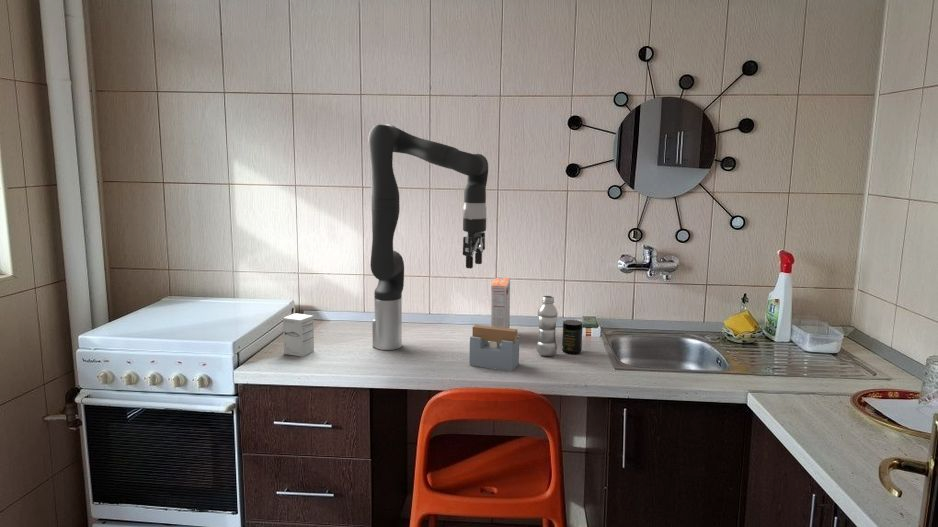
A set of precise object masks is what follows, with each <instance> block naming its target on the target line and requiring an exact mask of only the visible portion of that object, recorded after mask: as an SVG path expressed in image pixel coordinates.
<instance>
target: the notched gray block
mask: <svg viewBox="0 0 938 527" xmlns="http://www.w3.org/2000/svg"><path fill="white" fill-rule="evenodd" d="M468 358H469V366H470V365H472V366H471V367H478V366H480V367H479V368H485V367H487V368H488V369H493V368H496V369H495V370H500V369H501V371H509V372H513V370H514V369H515V368H516V367H517V366H518V365H519V364H520V335H517V342H516V343H515V344H513V341H505V340H502V343H500V342H493V341H485V340H481V338H480V337H472V336H470V337H469V357H468Z"/></svg>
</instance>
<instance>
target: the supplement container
mask: <svg viewBox="0 0 938 527" xmlns="http://www.w3.org/2000/svg"><path fill="white" fill-rule="evenodd" d="M583 326H584V322H583V321H580V320H578V319H577V320H575V319H565V320H563V321H562V334H561V336H562V337H561V338H562V339H561V340H562V341H561V352H563V353H564V354H567V355H573V356H574V355H579V354H581V353H582V350H583V349H582V348H583V347H582V346H583V328H584V327H583Z"/></svg>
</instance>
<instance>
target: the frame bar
mask: <svg viewBox="0 0 938 527" xmlns="http://www.w3.org/2000/svg"><path fill="white" fill-rule="evenodd" d="M517 336H518V329H517V328H512V327H511V328H502V327H493V326H491V325H483V324H475V325H473V326H472V336H471V337H480V338H481V340H485V341H488V342H490V341H493V342H502V340H505V341H513V344H515V343H516V342H517Z"/></svg>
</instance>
